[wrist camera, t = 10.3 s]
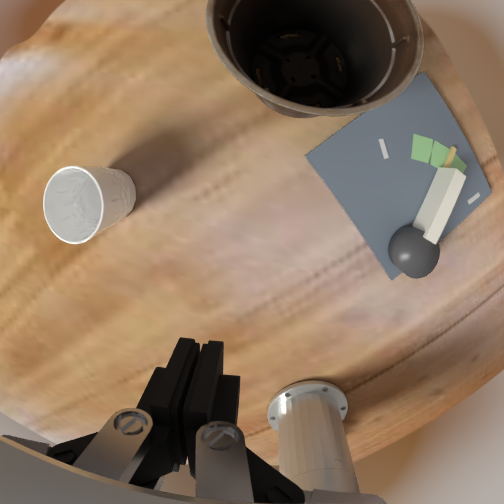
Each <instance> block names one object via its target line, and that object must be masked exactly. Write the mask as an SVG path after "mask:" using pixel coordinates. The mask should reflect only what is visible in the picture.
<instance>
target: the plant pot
mask: <svg viewBox="0 0 504 504" xmlns="http://www.w3.org/2000/svg"><path fill="white" fill-rule="evenodd" d="M206 25H207V31H208V35H209V39H210V41H211V44H212V46H213V48H214V50H215V52H216V54H217V56H218V57H219V59H220V60H221V62H222V63H223V64H224V66H225V67H226V68H227V69H228V70H229V72H230V73H231V74H232V75H233V76H234V77H235V78H236V79H237V80H239V81H240V82H241V83H242V84H243V85H244V86H246V87H247V88H248V89H250V90H251V91H253V92H254V93H256V95H257V96H258V97H259V99H260V100H261V101H262V102H263V103H264V104H266V105H267V106H268V107H270V108H271V109H273V110H275V111H277V112H279V113H281V114H283V115H286V116H290V117H295V118H311V117H316V116H346V115H354V114H359V113H363V112H367V111H370V110H373V109H376V108H378V107H381V106H383V105H385V104H387V103H389V102H390V101H392V100H393V99H395V98H396V97H397V96H399V95H400V94H401V93H402V92H403V91H404V90H405V89H406V88H407V87H408V86H409V84H410V83H411V82H412V80H413V79H414V77H415V76H416V74H417V72H418V69H419V67H420V64H421V60H422V56H423V50H424V35H423V29H422V24H421V21H420V18H419V15H418V13H417V10H416V8H415V6H414V4H413V3H412V1H411V0H208V2H207V8H206ZM292 33H299V34H301V35H300V36H298V37H288V38H286V39H281V38H280V36H282V35H285V34H292ZM306 56H310V57H311V60H309V61H308V60H306ZM334 56H338V57H339V59H340V62H341V65H342V74H340V73H339V71H338V66H337V64H336V61H335V59H334ZM286 59H290V60H291V61H290V63H286V62H285V60H286ZM257 67H260V68H261V72H260V73H261V75H262V80H263V82H264V86H262V85H260V84H259V82H258V79H257V75H256V68H257ZM311 75H316V79H312V78H311ZM292 77H293V78H295V81H294V82H290V78H292ZM317 103H319V104H321V107H320V108H317V107H311V106H310V105H314V104H317Z"/></svg>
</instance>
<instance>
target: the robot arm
mask: <svg viewBox="0 0 504 504" xmlns="http://www.w3.org/2000/svg"><path fill="white" fill-rule="evenodd" d="M223 350H224V343H223V342H222V341H210V340H209V342H208V344H203V346H202V349H201V352H200V344H199V343H195V339H190V338H179V340H178V343H177V345H176V347H175V349H174V351H173V354H172V356H171V358H170V360H169V362H168V365H167V367H166V368H163V367H156V369H155V370H154V372H153V374H152V376H151V379H150V381H149V383H148V385H147V387H146V389H145V391H144V393H143V395H142V397H141V399H140V401H139V403H138V405H137V407H136V408H126V409H121V410H119V411H117V412H115V413H114V414H113V415H112V416H111V417H110V419H109V420H108V421H107V422H106V424H105V425H104V426H103V427H102V429H101V430H100V431H99V432H96V433H93V434H90V435H87V436H84V437H80V438H77V439H74V440H70V441H67V442H64V443H60V444H58V445H55V446H54V447H51V446H50V444H47V443H42V442H37V441H32V440H27V439H23V438H18V437H14V436H10V435H2V436H0V504H386V502H385V501H384V500H383V499H382V498H381V497H379V496H377V495H373V494H362V493H360V489H359V485H358V481H357V477H356V474H355V470H354V466H353V461H352V458H351V454H350V450H349V446H348V442H347V438H346V434H345V430H344V427H343V423H342V421H343V419H344V418H345V416H346V414H347V410H348V402H347V399H346V396H345V394H344V392H343V391H342V390H341V389H340V388H338V387H337V386H336V385H334V384H331V383H329V382H324V381H316V380H311V381H303V382H298V383H295V384H292V385H289V386H288V387H286V388H284V389H282V390H281V391H279V392H278V393H277V394H276V395H275V396H274V397H273V398H272V400H271V401H270V403H269V406H268V413H267V416H268V421H269V423H270V425H271V426H272V428H273V429H274V430H275V431H277V432H278V438H279V466H280V472H278V471H277V470H275V469H274V468H273V467H272V466H270V465H269V464H268V463H266V462H265V461H264V460H262V459H261V458H260V457H258V456H257V455H256V454H255V453H253V452H252V451H251V450H250V449H248V448H247V447H246V446H245V439H244V435H243V432H242V431H241V430H240V428H239V427H237V417H238V407H239V393H240V376H234V375H223ZM187 456H188V462H189V467H190V474H191V476H192V477H193V478H194V479H195V480H196V497H190V496H184V495H178V494H172V493H167V492H162V491H159V490H160V489H161V487H162V485H163V483H164V479H165V475H166V474H168V473H170V472H172V471H176V472H178V471H179V467H180V464H181V465H185V464H186V460H187Z"/></svg>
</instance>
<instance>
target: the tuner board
mask: <svg viewBox="0 0 504 504" xmlns="http://www.w3.org/2000/svg"><path fill="white" fill-rule="evenodd" d="M451 146H453V147H455V148H456V149H457V150H456V153H455V155H454V158H453V160H452V163H451V165H450V168H456V169H457V170H459V171H460V172H461V173H463V174H464V175H465V176H466V179H465V181H464V184H463V186H462V189H461V191H460V193H459V196H458V198H457V200H456V203H455V205H454V207H453V210H452V212H451V214H450V216H449V218H448V221H447V223H446V225H445V227H444V229H443V231H442V233H441V235H440V237H439V239H438V241H437V242H439V241H440V240H442V239H443V238H444V237H445V236H446V235H447V234H448V233H450V232H451V231H452V230H453V229H454V228H455V227H456V226H457V225H458V224H460V223H461V222H462V221H463V220H464V219H465V218H466V217H467V216H468V215H469V214H470V213H471V212H472V211H474V210H475V209H476V208H477V207H478V206H479V205H480V204H481V203H482V202H483V201H484V200H485V199H486V198H487V197H488V196H489V195H490V194H491V193H492V191H491V189H490V187H489V185H488V182H487V180H486V178H485V176H484V173H483V171H482V169H481V167H480V165H479V163H478V161H477V159H476V157H475V155H474V153H473V151H472V149H471V147H470V145H469V143H468V141H467V139H466V138H465V136H464V134H463V132H462V130H461V129H460V127H459V125H458V123H457V122H456V120H455V118H454V116H453V115H452V113H451V112H450V110H449V108H448V107H447V105H446V103H445V102H444V100H443V99H442V97H441V96H440V94H439V93H438V91H437V90H436V88H435V87H434V85H433V84H432V82H431V81H430V79H429V78H428V76H427V75H426V74H425V72H422V73H420V74H419V75H417V76H416V77H414V79H413V80H412V82H411V83H410V84H409V86H408V87H407V88H406V89H405V90H404V91H403V92H402V93H401V94H400V95H399V96H397V97H396V98H395V99H393V100H392V101H390V102H389V103H387V104H385V105H383V106H381V107H378V108H376V109H373V110H370V111H367V112H364V113H362V114H361V115H360V116H358V117H357V118H355V119H354V120H353V121H351V122H350V123H348V124H347V125H346V126H344V127H343V128H342V129H340V130H339V131H337V132H336V133H335V134H333V135H332V136H331V137H329V138H328V139H327V140H325V141H324V142H323V143H321V144H320V145H318V146H317V147H316V148H314V149H313V150H312V151H310V152H309V153H308V154H306V155H305V158H306V159H307V160H308V161H309V163H310V164H311V165H312V167H313V168H314V169H315V171H316V172H317V173H318V175H319V176H320V177H321V179H322V180H323V181H324V183H325V184H326V185H327V187H328V188H329V189H330V191H331V192H332V193H333V195H334V196H335V198H336V199H337V200H338V202H339V203H340V205H341V206H342V207H343V209H344V210H345V212H346V213H347V215H348V216H349V217H350V219H351V220H352V222H353V223H354V225H355V226H356V228H357V229H358V231H359V232H360V234H361V235H362V236H363V238H364V239H365V241H366V242H367V244H368V246H369V247H370V249H371V250H372V252H373V253H374V255H375V256H376V258H377V259H378V261H379V263H380V264H381V266H382V267H383V269H384V270H385V272H386V274H387V275H388V277H389V278H390V279H391V280H393V279H394V278H396V277H397V276H398V275H399V274H401V273H402V271H401V270H400V269H399V268H397V267H396V266H395V265H394V264H393V263H392V262H391V260H390V258H389V254H388V245H389V241H390V239H391V237H392V235H393V234H394V233H395V232H396V231H397V230H398V229H399V228H401V227H403V226H408V225H411V226H412V225H413V223H414V221H415V219H416V216H417V214H418V212H419V210H420V208H421V206H422V204H423V202H424V199H425V197H426V195H427V193H428V191H429V188H430V186H431V184H432V181H433V179H434V177H435V174H436V172H437V170H438V167H442V168H443V165H444V163H445V160H446V158H447V155H448V153H449V150H450V148H451Z"/></svg>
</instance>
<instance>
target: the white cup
mask: <svg viewBox="0 0 504 504" xmlns="http://www.w3.org/2000/svg"><path fill="white" fill-rule="evenodd" d="M135 201H136V189H135V185H134V183H133V181H132V179H131V177H130V176H129V175H128V174H126V173H125V172H123V171H122V170H120V169H112V168H107V167H97V166H67V167H64V168H62V169H60V170H58V171H57V172H56V173H55V174H54V175H53V176H52V177H51V179H50V180H49V182H48V184H47V186H46V189H45V192H44V198H43V208H44V214H45V218H46V221H47V223H48V225H49V227H50V229H51V230H52V232H53V233H54V234H55V235H56V236H57V237H58V238H60V239H61V240H63V241H65V242H67V243H71V244H79V243H83V242H86V241H88V240H89V239H91V238H92V237H94V236H96V235H98V234H99V233H101V232H103V231H105V230H106V229H108V228H110V227H111V226H113V225H114V224H116V223H117V222H119V221H120V220H122V219H124V218H125V217H126V216H127V215H128V214H129V213H130V212H131V211H132V210H133V207H134V204H135Z"/></svg>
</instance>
